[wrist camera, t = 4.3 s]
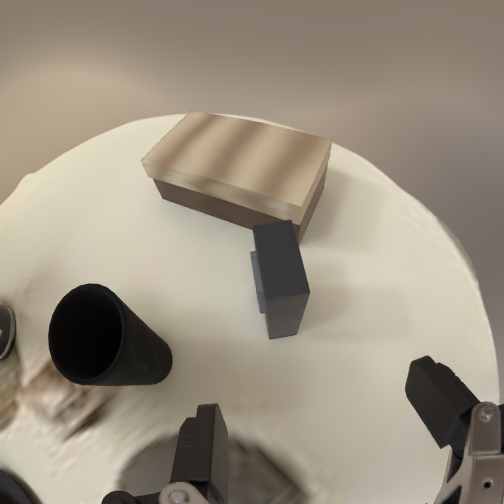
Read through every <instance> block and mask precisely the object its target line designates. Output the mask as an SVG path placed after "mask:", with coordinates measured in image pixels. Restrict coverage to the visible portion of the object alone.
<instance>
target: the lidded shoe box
mask: <svg viewBox="0 0 504 504" xmlns="http://www.w3.org/2000/svg"><path fill="white" fill-rule="evenodd" d="M331 144H332V141H331V140H329V139H325V138H322V137H318V136H314V135H311V134H307V133H303V132H299V131H295V130H291V129H287V128H283V127H278V126H274V125H269V124H265V123H260V122H255V121H250V120H244V119H239V118H233V117H227V116H220V115H214V114H207V113H199V112H190V113H188V114H187V115H186V116H185V117H184V118H183V119H182V120H181V121H179V122H178V123H177V124H176V125H175V126H174V127H173V128H172V129H171V130H170V131H169V132H168V133H167V134H166V135H165V136H164V137H163V138H162V139H161V140H160V141H159V142H158V143H157V144H156V145H155V146H154V147H153V148H152V149H151V150H150V151H149V152H148V153H147V154H146V155H145V156H144V158H143V159H142V160H141V163H142V165H143V167H144V169H145V171H146V173H147V175H148V177H150V178H153V180H154V182H155V184H156V186H157V188H158V190H159V192H160V194H161V196H162V198H163V199H165V200H168V201H171V202H174V203H177V204H180V205H183V206H185V207H188V208H191V209H194V210H197V211H200V212H203V213H206V214H209V215H211V216H214V217H217V218H220V219H223V220H226V221H228V222H231V223H234V224H237V225H240V226H242V227H245V228H248V229H251V230H253V227H252V226H253V225H259V224H265V223H272V222H278V221H284V220H292V223H293V227H294V231H295V235H296V238H297V242H298V246H299V244H300V241H301V239H302V237H303V235H304V232H305V230H306V228H307V226H308V223H309V221H310V219H311V216H312V214H313V212H314V210H315V207H316V205H317V203H318V200H319V198H320V196H321V193H322V191H323V189H324V183H325V177H326V171H327V165H328V161H329V157H330V151H331Z"/></svg>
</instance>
